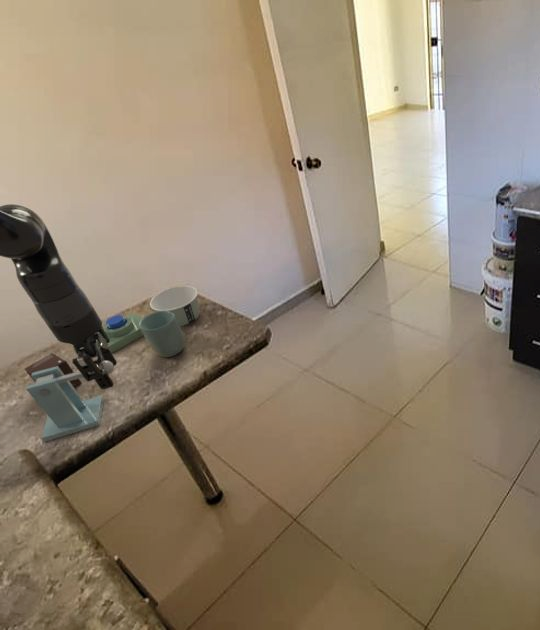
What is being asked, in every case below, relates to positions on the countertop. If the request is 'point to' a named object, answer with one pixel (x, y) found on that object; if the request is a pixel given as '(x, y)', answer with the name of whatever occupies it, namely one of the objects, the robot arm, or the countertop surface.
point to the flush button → (116, 322)
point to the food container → (178, 303)
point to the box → (52, 362)
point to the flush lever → (75, 374)
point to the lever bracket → (64, 406)
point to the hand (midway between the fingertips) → (109, 375)
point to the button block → (124, 332)
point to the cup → (163, 333)
